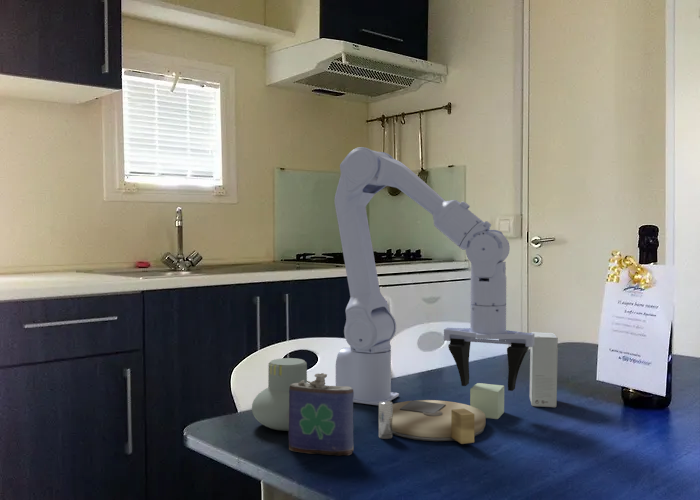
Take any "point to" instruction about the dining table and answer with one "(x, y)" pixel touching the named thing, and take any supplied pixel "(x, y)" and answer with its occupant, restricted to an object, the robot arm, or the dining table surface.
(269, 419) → the grey bulbous piece
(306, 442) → the flask
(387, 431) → the turntable base
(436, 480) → the dining table surface
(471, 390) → the sage block
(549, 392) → the skincare box
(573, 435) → the dining table surface
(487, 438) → the dining table surface
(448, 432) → the disc
